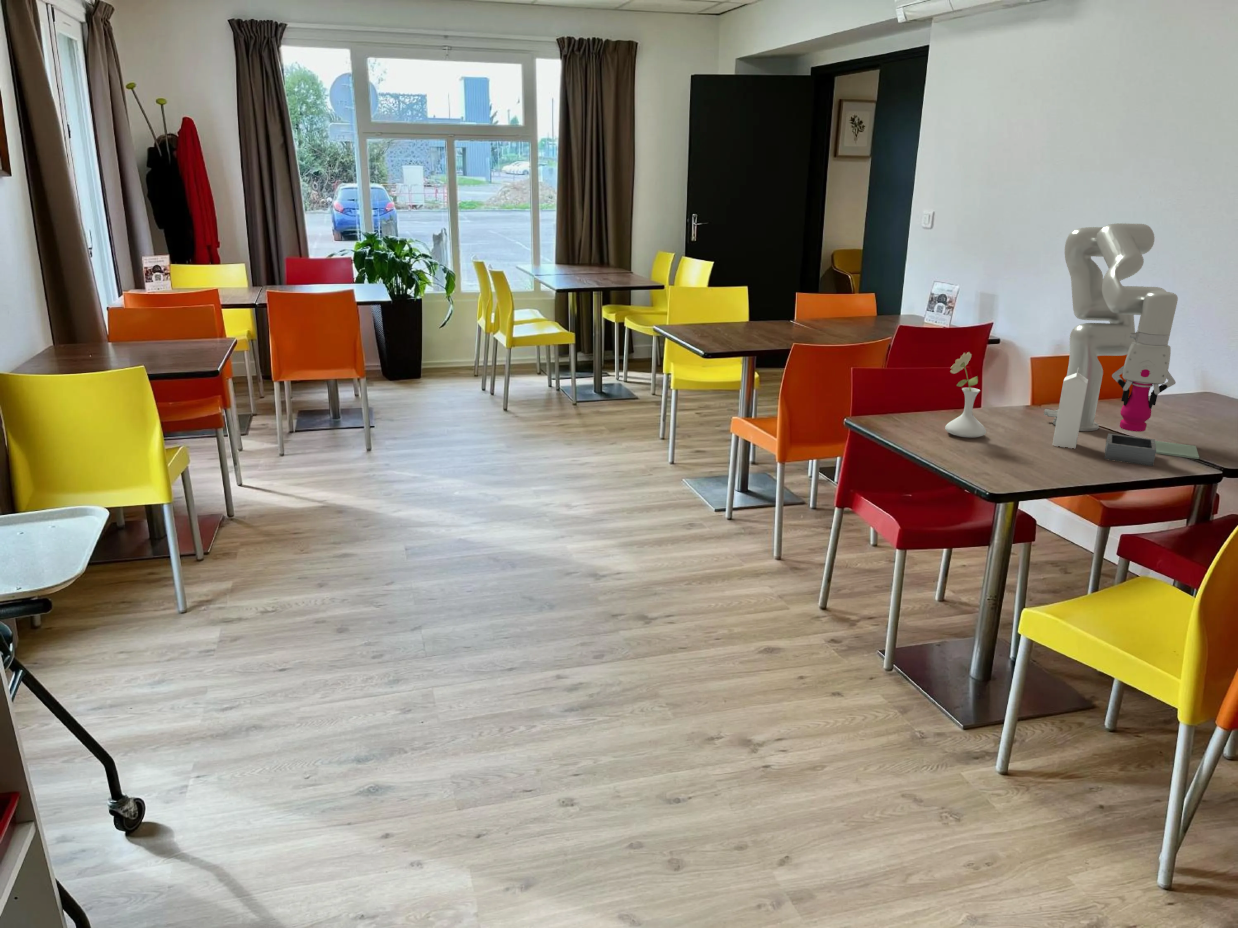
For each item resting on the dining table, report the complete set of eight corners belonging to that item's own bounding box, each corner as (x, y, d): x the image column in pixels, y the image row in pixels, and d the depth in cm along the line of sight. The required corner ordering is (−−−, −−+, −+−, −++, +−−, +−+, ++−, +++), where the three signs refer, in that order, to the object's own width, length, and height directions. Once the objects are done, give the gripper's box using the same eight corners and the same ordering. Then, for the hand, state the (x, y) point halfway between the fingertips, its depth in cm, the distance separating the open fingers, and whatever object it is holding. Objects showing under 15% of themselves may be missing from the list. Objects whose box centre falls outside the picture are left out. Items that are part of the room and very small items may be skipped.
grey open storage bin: (1104, 459, 240) (1107, 443, 238) (1105, 448, 249) (1108, 433, 248) (1152, 466, 235) (1156, 450, 233) (1151, 454, 244) (1154, 439, 243)
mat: (1140, 451, 247) (1140, 449, 247) (1139, 440, 257) (1139, 438, 257) (1198, 459, 241) (1199, 457, 241) (1195, 447, 251) (1195, 445, 251)
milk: (1076, 444, 254) (1091, 368, 247) (1075, 449, 249) (1090, 372, 242) (1053, 440, 256) (1066, 366, 249) (1051, 445, 251) (1065, 369, 244)
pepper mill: (1151, 433, 236) (1168, 360, 230) (1122, 431, 238) (1138, 358, 231) (1142, 425, 243) (1158, 354, 236) (1113, 423, 244) (1128, 352, 238)
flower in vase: (968, 428, 267) (979, 346, 259) (993, 439, 257) (1007, 354, 249) (931, 431, 263) (942, 348, 256) (956, 442, 253) (968, 356, 245)
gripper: (1115, 338, 233) (1101, 404, 239) (1190, 345, 225) (1174, 413, 231) (1115, 333, 239) (1102, 398, 245) (1189, 340, 231) (1173, 407, 237)
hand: (1137, 405), depth 238 cm, fingers closed on pepper mill, 5 cm apart
